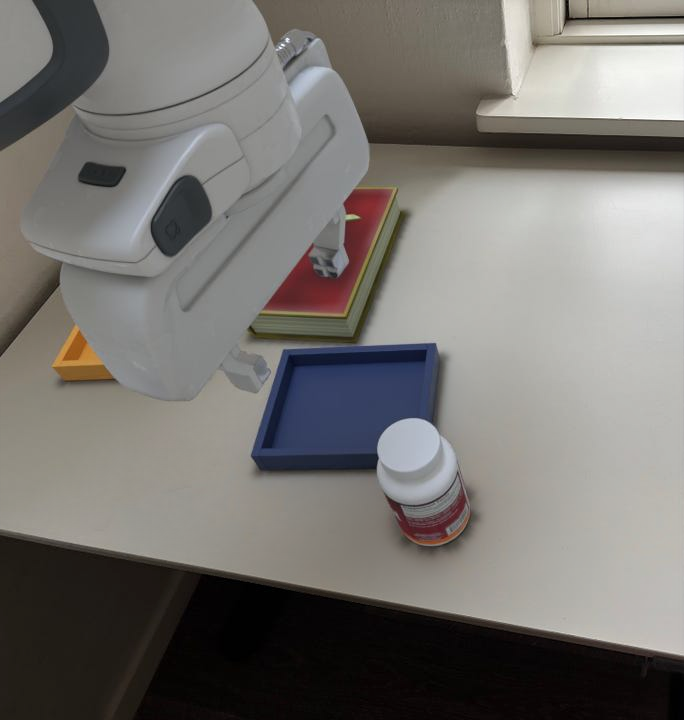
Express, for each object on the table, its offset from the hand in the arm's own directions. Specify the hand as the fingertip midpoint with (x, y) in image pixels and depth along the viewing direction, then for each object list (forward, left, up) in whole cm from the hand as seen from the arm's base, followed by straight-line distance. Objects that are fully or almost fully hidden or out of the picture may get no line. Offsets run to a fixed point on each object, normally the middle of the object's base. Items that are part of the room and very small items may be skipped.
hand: (296, 322), depth 43 cm
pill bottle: (+4, -1, -24) cm, 24 cm away
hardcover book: (-11, +30, -24) cm, 40 cm away
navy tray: (-5, +10, -24) cm, 26 cm away
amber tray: (-30, +22, -24) cm, 44 cm away
